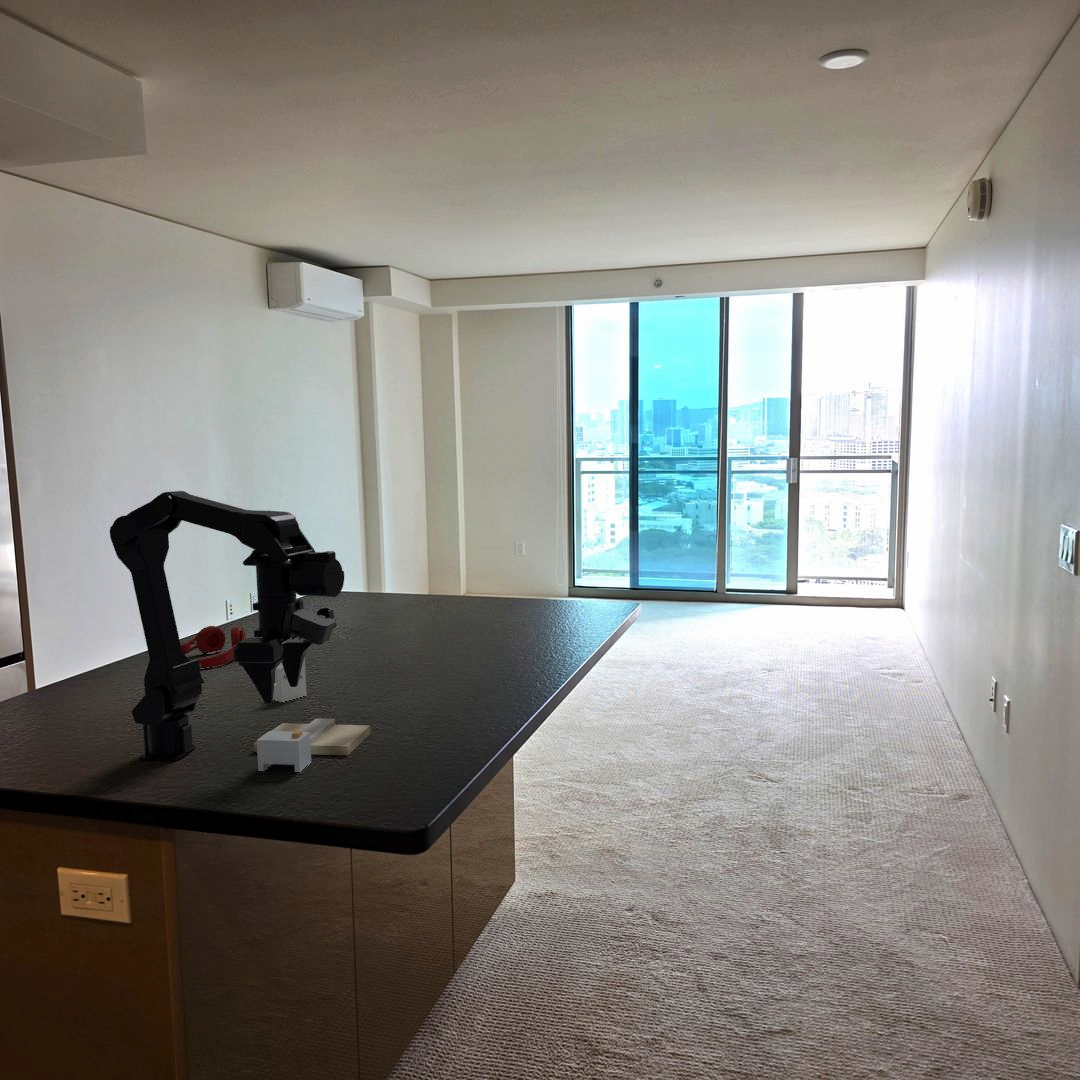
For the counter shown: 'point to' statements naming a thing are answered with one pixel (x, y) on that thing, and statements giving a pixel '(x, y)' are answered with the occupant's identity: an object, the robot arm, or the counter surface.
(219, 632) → the headphones
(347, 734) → the board
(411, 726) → the counter surface
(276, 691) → the white angled block
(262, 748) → the block
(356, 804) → the counter surface
